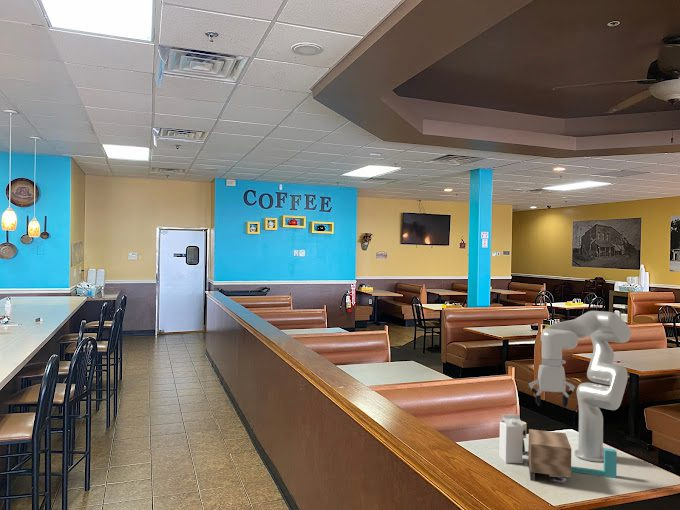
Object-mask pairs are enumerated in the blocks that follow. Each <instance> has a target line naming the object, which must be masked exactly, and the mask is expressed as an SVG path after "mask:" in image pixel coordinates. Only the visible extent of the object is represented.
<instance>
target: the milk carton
mask: <svg viewBox="0 0 680 510" xmlns="http://www.w3.org/2000/svg"><path fill="white" fill-rule="evenodd" d="M520 416H521V415H520V414H511V413H510V414H507V413H506V414H502V418H500V419H501V420H500V421H499V440H498V443H499V445H498V446H499V447H498V453H499V454H498V455H499V456H498V457H499V458H500V459H501V460H502V461H503V462H504V463H505V464H523V453H522V451H523V440H524V438H523V425H522V423H521V421H522V420H521V418H520Z"/></svg>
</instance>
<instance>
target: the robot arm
mask: <svg viewBox="0 0 680 510" xmlns="http://www.w3.org/2000/svg"><path fill="white" fill-rule="evenodd" d="M631 336H632V331H631V328H630V326H629V324H628V323H626V322H625V321H624V320H623V318H621V317H620V316H619V315H618V314H617V313H615V312H612V311H605V310H604V311H603V310H600V311H599V310H589V311H586V312H585V313H583V314H581V315H580V316H578V317H576V318H574V319H571V320H570V319H569V320H565V321H564V320H563V321H560V322H556V323H553V324H551V325H549V326H547V327H545V328H544V329H543V330H542V332H541V333H540V341H541V364H539V366H538V370H537V371H538V372H537V379H535V380H533V381H531V382H528V386H529V388H530V389H531V391H532V392H533V393H534V394H535V404H536V405H537V406H538V407H540V406H541V405H542V403H541V402H542V401H541V394H542V393H543V392H550V393H562V407H563V408H567V405H568V404H569V403H568V402H569V401H568V399H569V397H570V396H571V395H572V394H573V392H574V390H575V389H576V397H577V398H576V399H577V404H578V448H577V449H575V450H574V456H575V457H577V458H579V459H582V460H584V461H588V462H599V463H601V462H604V448H605V447H604V416H603V412H602V411H601V409H605V410H610V411H616V410H617V409H619V408H620V406H621V404H622V401H623V397H624V394H625V390H626V386H627V383H628V378H629V377H628V369H627V368H626V367H625V366H624V365H622V364H619V363H614V358H615V352H614V350H613V348H612V347H611V345H610V343H619V344H620V343H621V344H623V343H624V344H626V343H627V342H629V341H630V339H631ZM587 337H590V340H591V343H592V348H593V351H592V354H591V358H590V361H589V365H588V367H587V371H586V377H587V378H588V380H590V381H591V382H581V383H580V384H579V385H578V386H577V387H576V386H575V385H573V383H570V382H569V381H566V373H565V367H564V366H563V365H565V364H567V362H566V360H564V359H563V350H573V349H574V348H576V347H577V346H578V343H579V339H584V338H587ZM609 342H610V343H609ZM592 382H593V383H592ZM535 385H537V389H536V388H535V387H534V386H535ZM567 387H569V389H568V390H567V391H566V389H567Z"/></svg>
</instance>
